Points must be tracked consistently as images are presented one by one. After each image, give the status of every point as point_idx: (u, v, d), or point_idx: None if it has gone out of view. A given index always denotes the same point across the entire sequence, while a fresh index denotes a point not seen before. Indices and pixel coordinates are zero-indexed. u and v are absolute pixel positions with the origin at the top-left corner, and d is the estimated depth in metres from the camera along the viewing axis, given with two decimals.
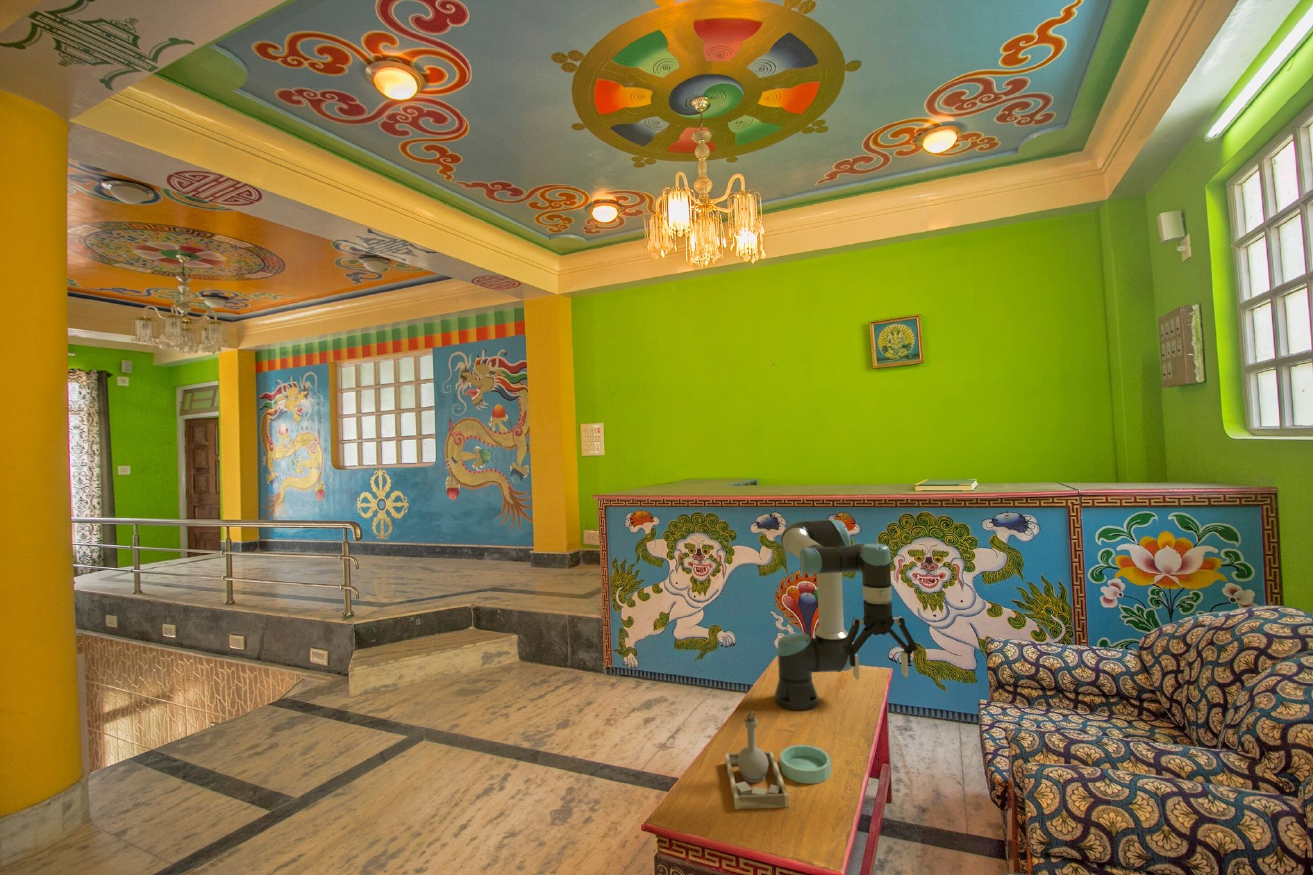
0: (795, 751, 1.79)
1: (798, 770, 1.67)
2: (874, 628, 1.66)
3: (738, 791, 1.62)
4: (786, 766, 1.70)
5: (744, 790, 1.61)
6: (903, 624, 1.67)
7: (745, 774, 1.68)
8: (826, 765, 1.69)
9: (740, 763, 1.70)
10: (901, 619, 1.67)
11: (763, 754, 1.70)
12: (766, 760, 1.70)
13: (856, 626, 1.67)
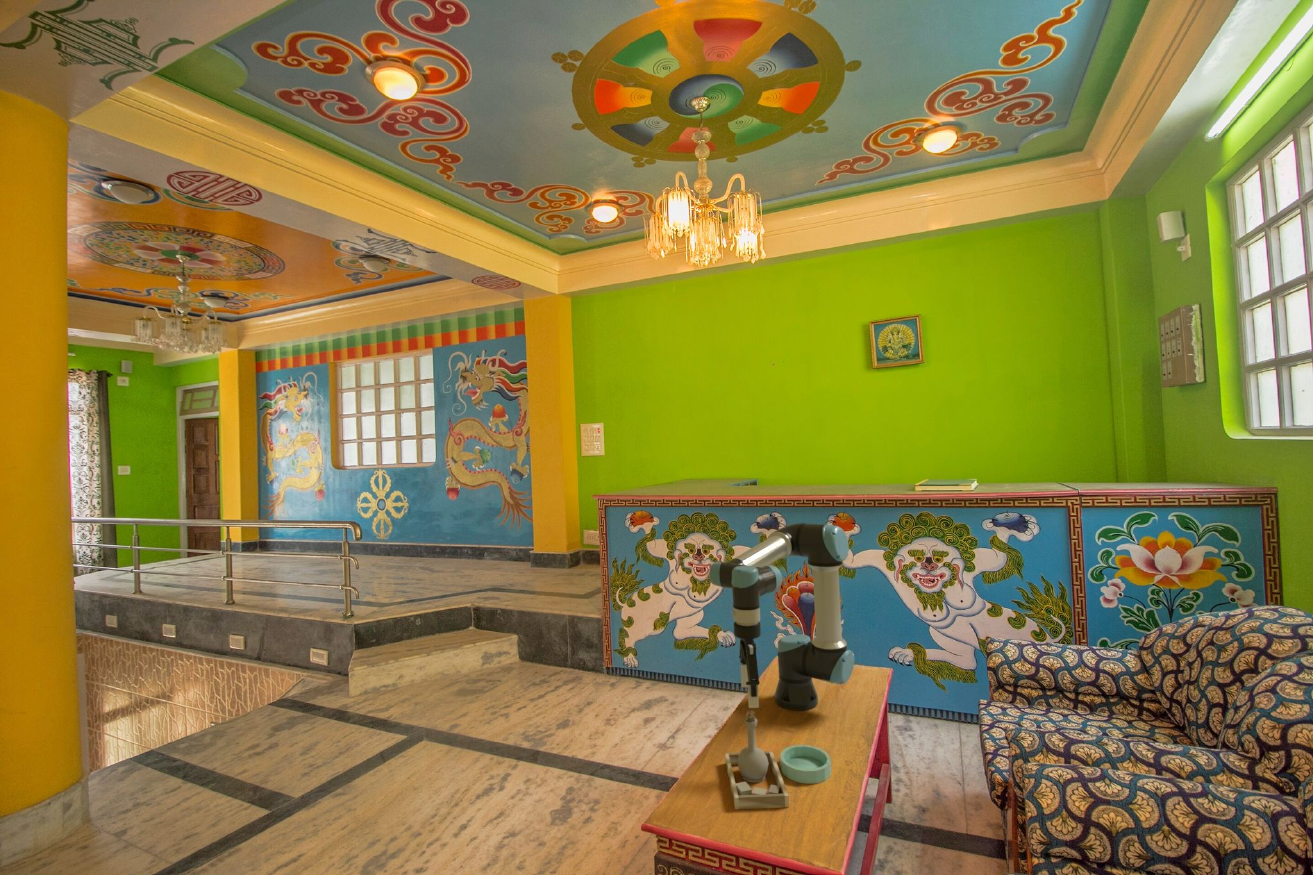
0: (795, 751, 1.79)
1: (798, 770, 1.67)
2: (740, 645, 1.73)
3: (738, 791, 1.62)
4: (786, 766, 1.70)
5: (744, 790, 1.61)
6: (747, 653, 1.65)
7: (745, 774, 1.68)
8: (826, 765, 1.69)
9: (740, 763, 1.70)
10: (746, 647, 1.65)
11: (763, 754, 1.70)
12: (766, 760, 1.70)
13: None
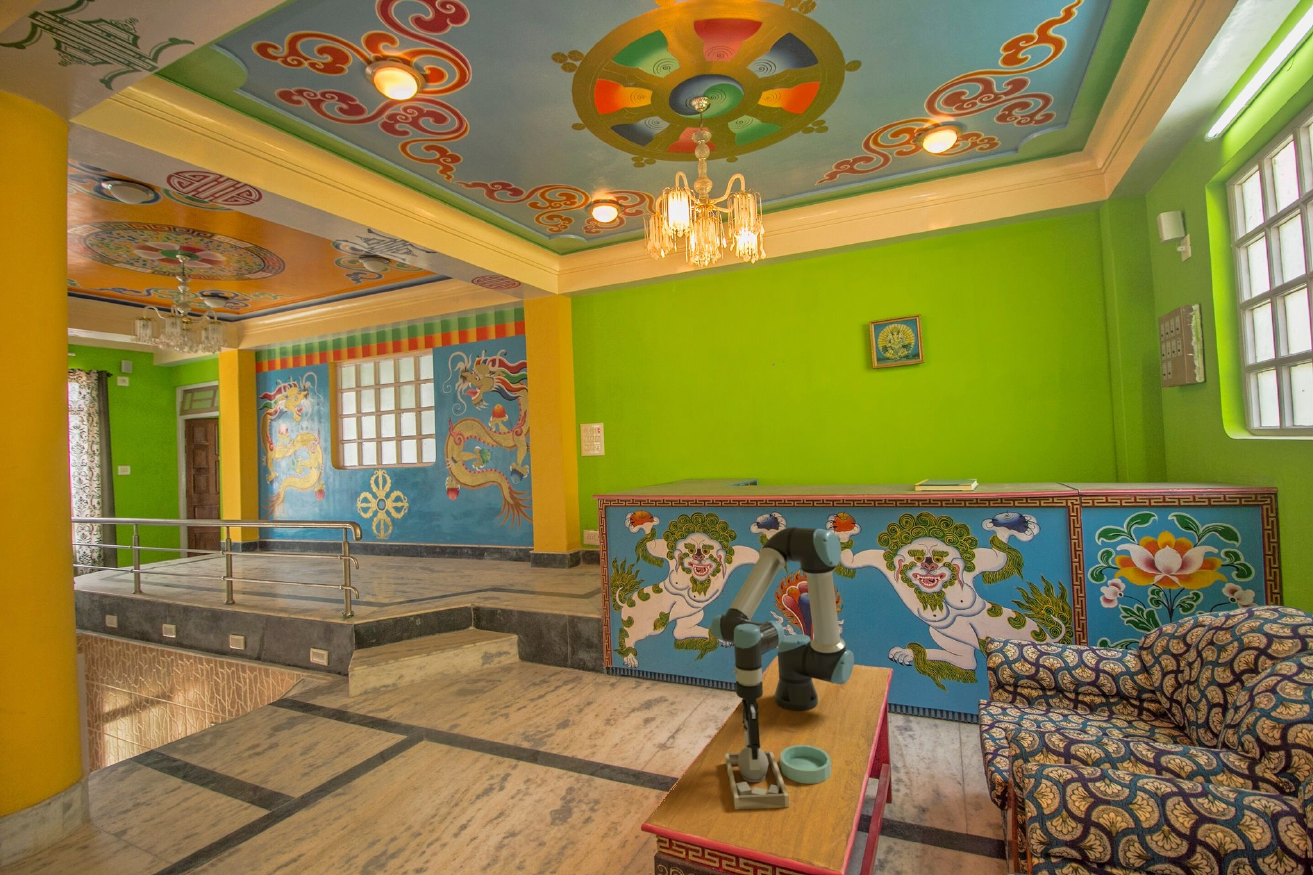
0: (795, 751, 1.79)
1: (798, 770, 1.67)
2: None
3: (738, 791, 1.62)
4: (786, 766, 1.70)
5: (743, 790, 1.61)
6: (749, 717, 1.65)
7: (745, 774, 1.68)
8: (826, 765, 1.69)
9: (740, 763, 1.70)
10: (748, 712, 1.65)
11: (763, 754, 1.70)
12: (766, 760, 1.70)
13: None
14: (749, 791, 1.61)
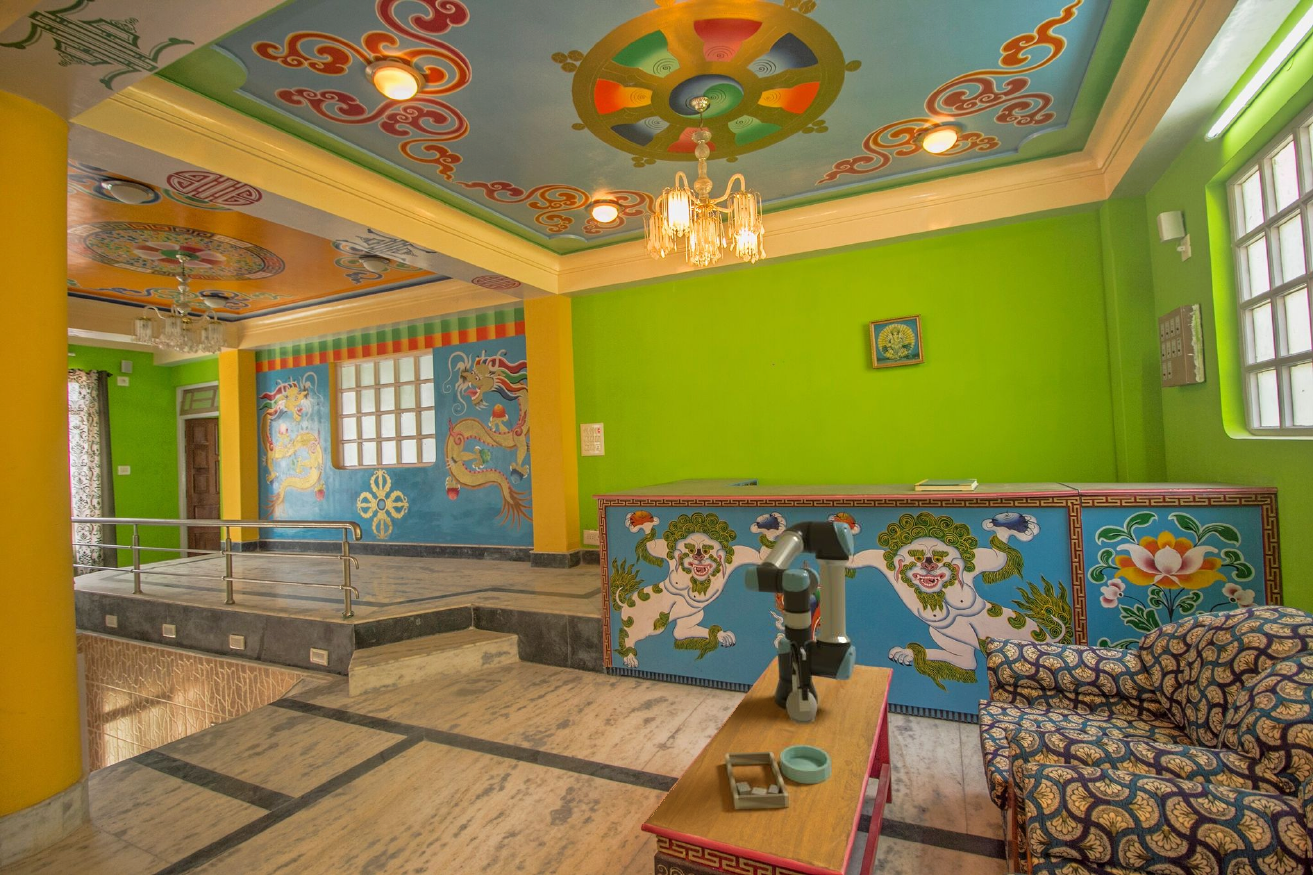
0: (795, 751, 1.79)
1: (798, 770, 1.67)
2: (791, 648, 1.75)
3: (738, 791, 1.62)
4: (786, 766, 1.70)
5: (743, 790, 1.61)
6: (799, 659, 1.67)
7: (795, 715, 1.70)
8: (826, 765, 1.69)
9: (789, 705, 1.72)
10: (799, 653, 1.67)
11: (812, 696, 1.72)
12: (815, 702, 1.72)
13: (790, 643, 1.80)
14: (749, 791, 1.61)
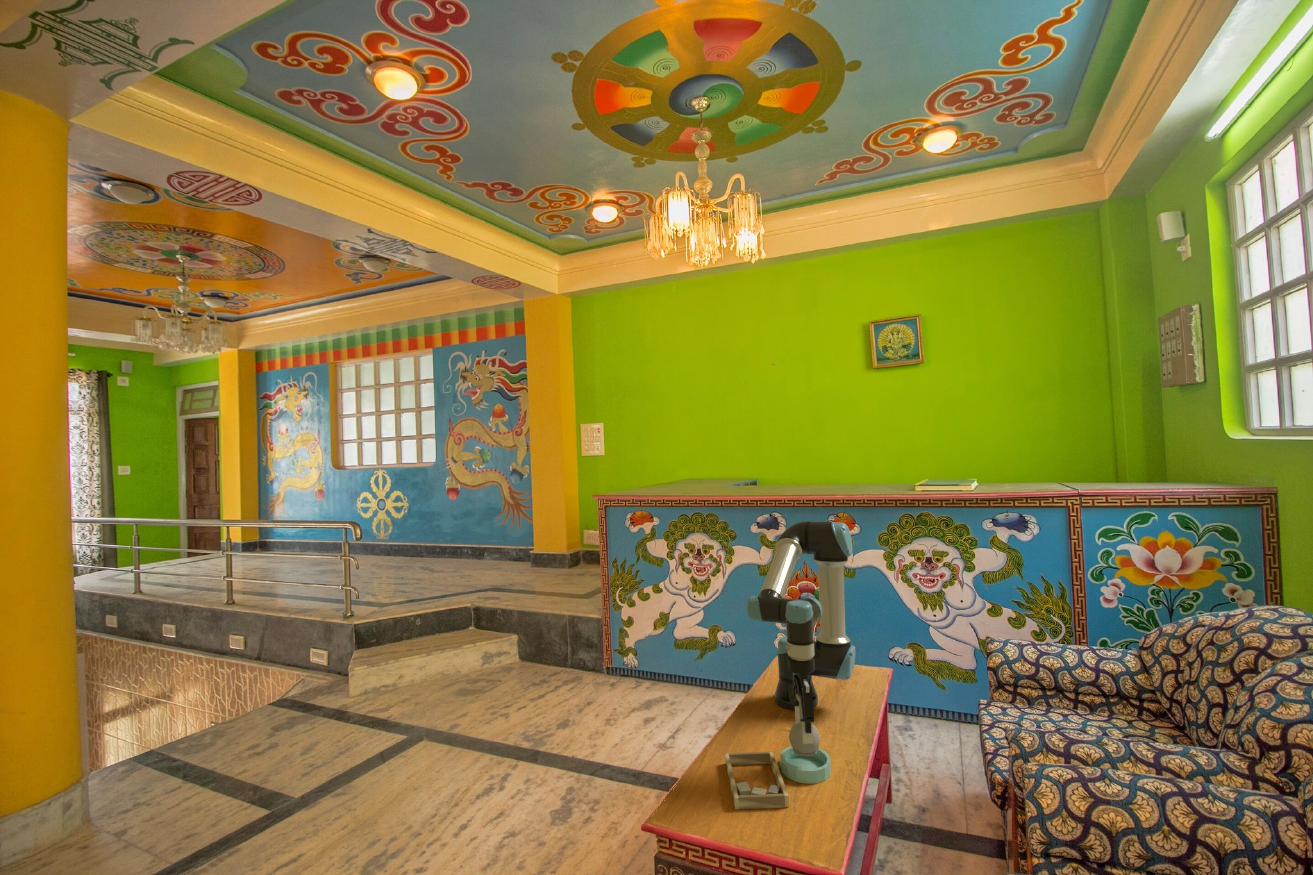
0: None
1: (798, 770, 1.67)
2: (794, 679, 1.75)
3: (738, 790, 1.62)
4: (786, 766, 1.70)
5: (743, 790, 1.61)
6: (803, 691, 1.67)
7: (798, 748, 1.70)
8: (826, 765, 1.69)
9: (792, 737, 1.72)
10: (802, 686, 1.67)
11: (815, 728, 1.72)
12: (818, 734, 1.72)
13: (792, 674, 1.79)
14: (748, 791, 1.61)
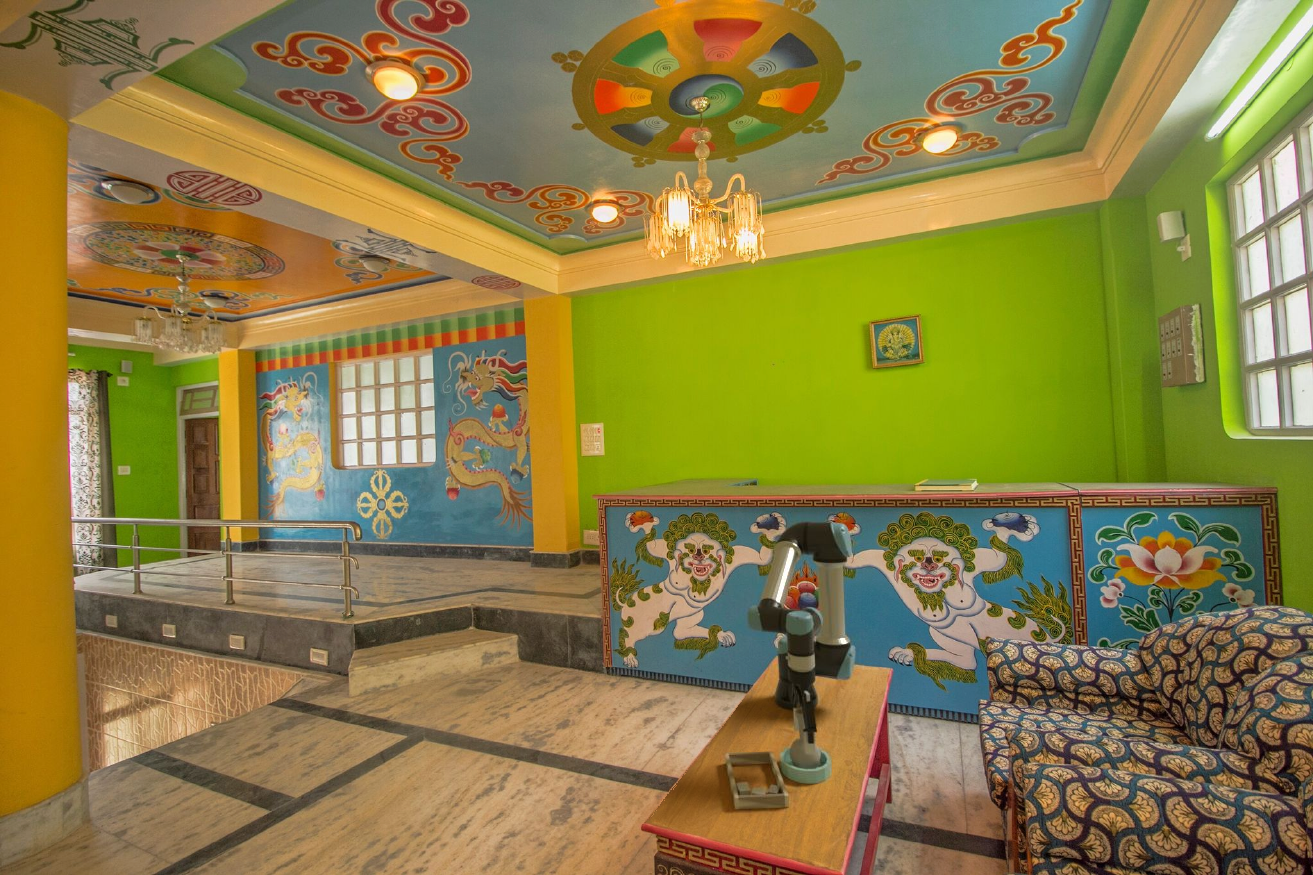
0: None
1: (798, 770, 1.67)
2: (794, 689, 1.75)
3: (738, 790, 1.62)
4: (786, 766, 1.70)
5: (743, 790, 1.61)
6: (803, 700, 1.67)
7: (799, 765, 1.70)
8: (826, 765, 1.69)
9: (793, 754, 1.72)
10: (803, 694, 1.67)
11: (815, 744, 1.73)
12: (818, 750, 1.72)
13: None
14: (748, 791, 1.61)
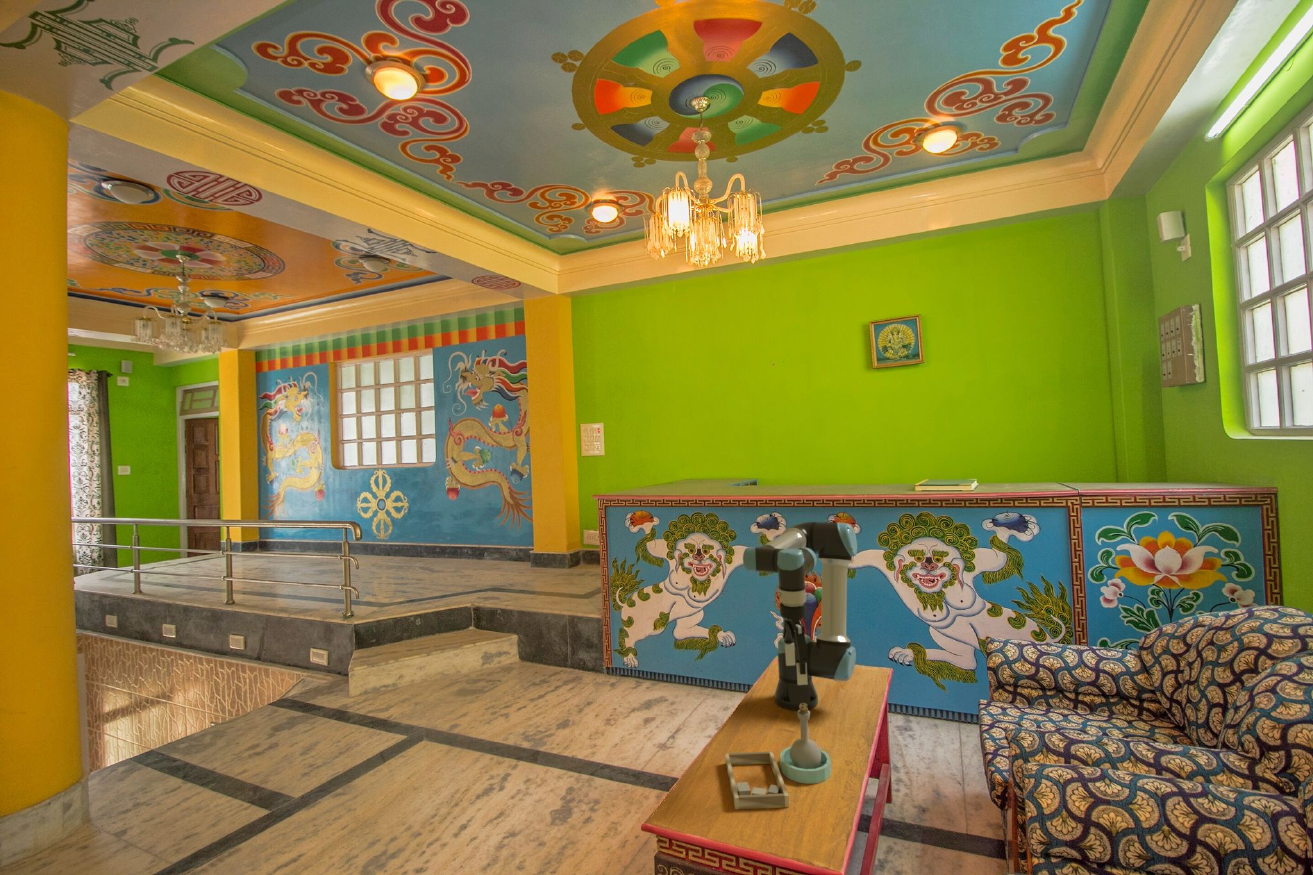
0: None
1: (798, 770, 1.67)
2: (786, 625, 1.79)
3: (738, 790, 1.62)
4: (786, 766, 1.70)
5: (742, 790, 1.61)
6: (795, 633, 1.71)
7: (799, 765, 1.70)
8: (826, 765, 1.69)
9: (794, 755, 1.72)
10: (794, 627, 1.71)
11: (816, 746, 1.73)
12: (819, 751, 1.72)
13: (784, 618, 1.84)
14: (748, 791, 1.61)
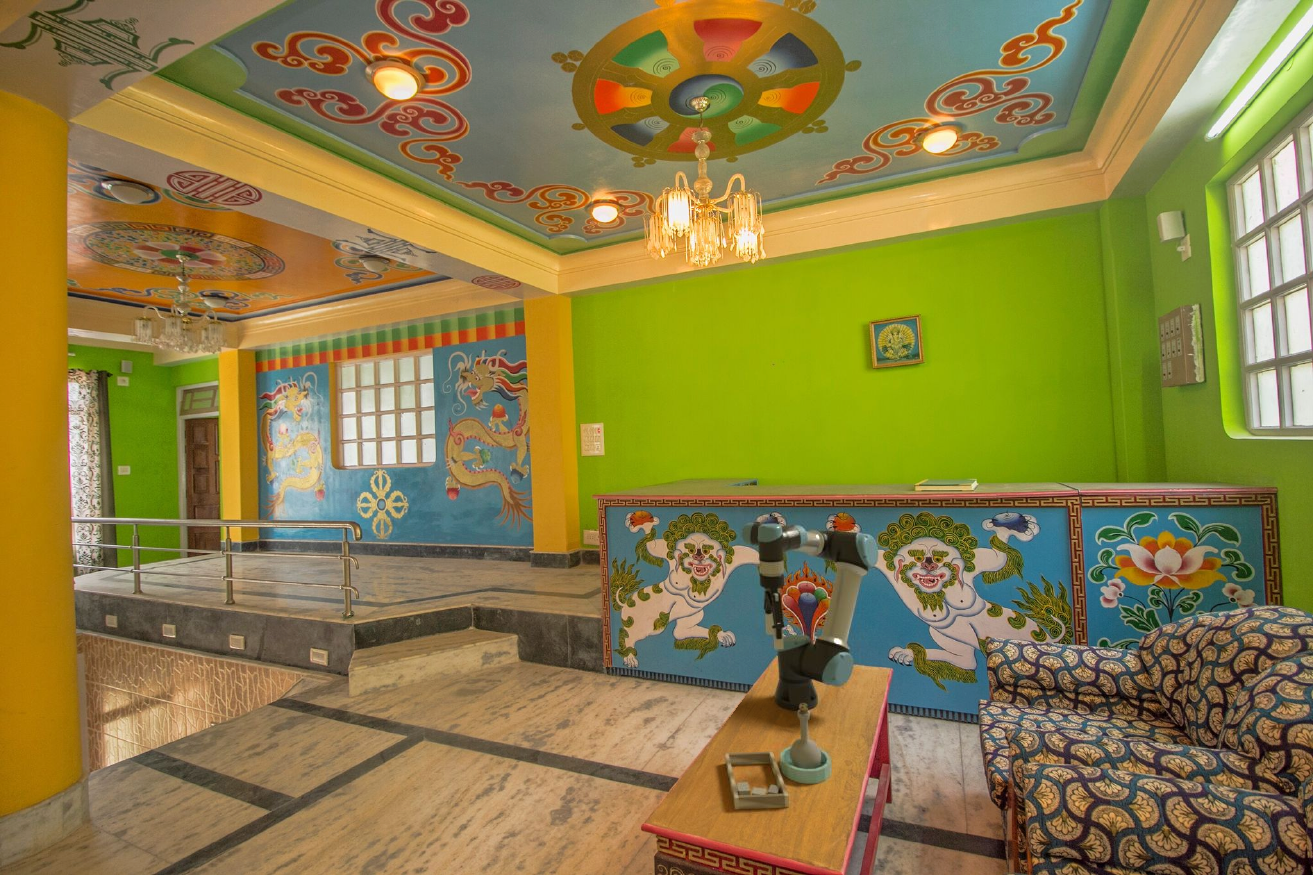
0: None
1: (798, 770, 1.67)
2: (765, 595, 1.91)
3: (738, 790, 1.63)
4: (786, 766, 1.70)
5: (742, 790, 1.61)
6: (772, 600, 1.83)
7: (799, 765, 1.70)
8: (826, 765, 1.69)
9: (794, 755, 1.72)
10: (772, 595, 1.83)
11: (816, 746, 1.73)
12: (819, 751, 1.72)
13: None
14: (748, 791, 1.61)
